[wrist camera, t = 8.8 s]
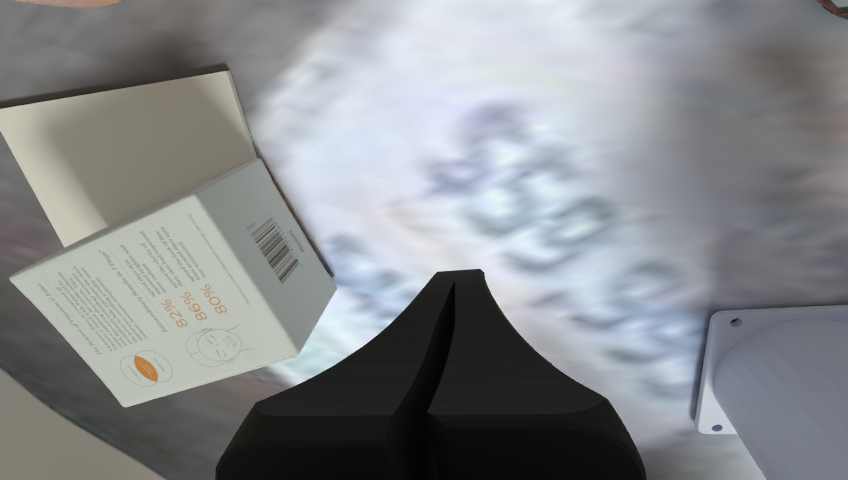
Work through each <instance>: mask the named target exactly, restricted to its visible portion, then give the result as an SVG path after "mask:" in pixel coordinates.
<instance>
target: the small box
mask: <svg viewBox="0 0 848 480" xmlns="http://www.w3.org/2000/svg"><path fill="white" fill-rule="evenodd" d="M9 280H10V281H11V282H12V283H13V284H14V285H15V286H16V287H17V288H18V289H19V290H20V291H21V292H22V293H23V294H24V295H25V296H26V297H27V298H28V299H29V300H30V301H31V302H32V303H33V304H34V305H35V306H36V307H37V308H38V309H39V310H40V311H41V312H42V313H43V315H44V316H45V317H46V318H47V319H48V320H49V321H50V322H51V323H52V324H53V326H54V327H55V328H56V329H57V330H58V331H59V332H60V333H61V335H62V336H63V337H64V338H65V339H66V340H67V341H68V342H69V344H70V345H71V346H72V347H73V348H74V349H75V350H76V351H77V353H78V354H79V355H80V356H81V357H82V358H83V359H84V360H85V362H86V363H87V364H88V365H89V366H90V367H91V369H92V370H93V371H94V372H95V373H96V374H97V375H98V376H99V378H100V379H101V380H102V381H103V382H104V383H105V385H106V386H107V387H108V388H109V389H110V391H111V392H112V393H113V395H114V396H115V397H116V398H117V400H118V401H119V402H120V404H121V405H122V406H123V407H128V406H132V405H135V404H139V403H142V402H145V401H149V400H152V399H156V398H159V397H163V396H166V395H169V394H173V393H176V392H179V391H183V390H186V389H189V388H193V387H196V386H200V385H203V384H207V383H210V382H213V381H217V380H220V379H223V378H227V377H230V376H234V375H237V374H240V373H243V372H247V371H250V370H254V369H257V368H260V367H264V366H267V365H271V364H274V363H277V362H281V361H284V360H287V359H291V358H295V357H297V356H298V355H299V354H300V352H301V350H302V348H303V347H304V345H305V343H306V341H307V340H308V338H309V336H310V334H311V333H312V331H313V329H314V327H315V326H316V324H317V322H318V321H319V319H320V317H321V315H322V314H323V312H324V310H325V308H326V307H327V305H328V303H329V301H330V300H331V298H332V296H333V295H334V293H335V291H336V290H337V287H336V285H335V283H334V282H333V280H332V278H331V277H330V275H329V274H328V273H327V271H326V270H325V268H324V266H323V265H322V263H321V262H320V260H319V258H318V257H317V255H316V253H315V252H314V250H313V249H312V247H311V245H310V244H309V242H308V240H307V239H306V237H305V235H304V234H303V232H302V230H301V229H300V227H299V225H298V224H297V222H296V220H295V219H294V217H293V215H292V213H291V212H290V210H289V208H288V207H287V205H286V203H285V201H284V200H283V198H282V196H281V195H280V193H279V191H278V190H277V188H276V186H275V184H274V182H273V181H272V179H271V177H270V175H269V173H268V171H267V169H266V167H265V165H264V163H263V162H262V160H261V159H260V158H255V159H253V160H251V161H249V162H246V163H244V164H242V165H240V166H238V167H235V168H233V169H231V170H229V171H226V172H224V173H222V174H220V175H218V176H215V177H213V178H211V179H209V180H207V181H205V182H202V183H200V184H198V185H196V186H194V187H191V188H189V189H187V190H185V191H183V192H181V193H178V194H176V195H174V196H172V197H170V198H168V199H165V200H163V201H161V202H159V203H157V204H155V205H152V206H150V207H148V208H146V209H144V210H142V211H140V212H138V213H135V214H133V215H131V216H129V217H127V218H125V219H123V220H121V221H118V222H116V223H114V224H112V225H110V226H108V227H106V228H104V229H102V230H100V231H97V232H95V233H93V234H91V235H89V236H87V237H85V238H83V239H81V240H79V241H77V242H75V243H73V244H71V245H69V246H67V247H65V248H63V249H61V250H59V251H57V252H55V253H53V254H51V255H49V256H47V257H45V258H44V259H42V260H40V261H38V262H36V263H34V264H32V265H30V266H28V267H26V268H24V269H22V270H20V271H18V272H16V273H14V274H13V275H11V276H10V278H9Z"/></svg>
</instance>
